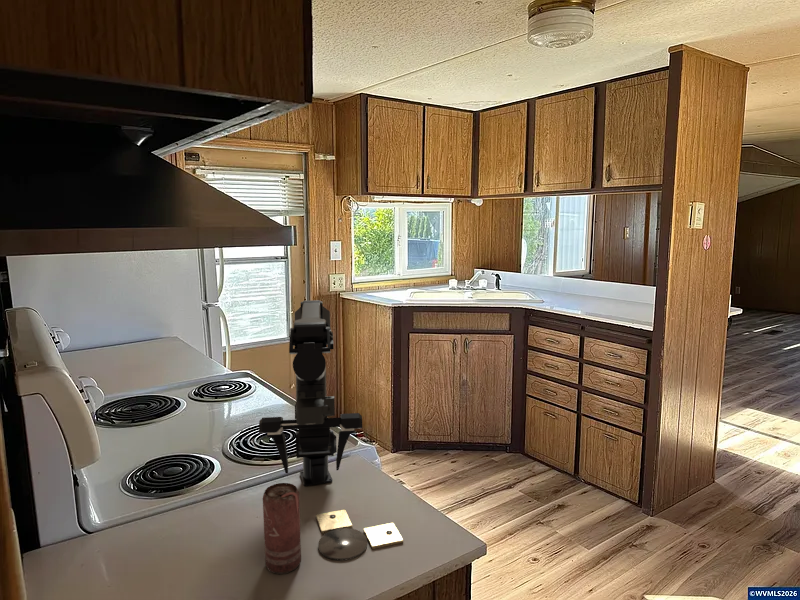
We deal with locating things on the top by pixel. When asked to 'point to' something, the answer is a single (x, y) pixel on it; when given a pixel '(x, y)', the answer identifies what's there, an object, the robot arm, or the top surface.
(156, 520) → the top surface
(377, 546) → the flat squares and disc
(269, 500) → the can
